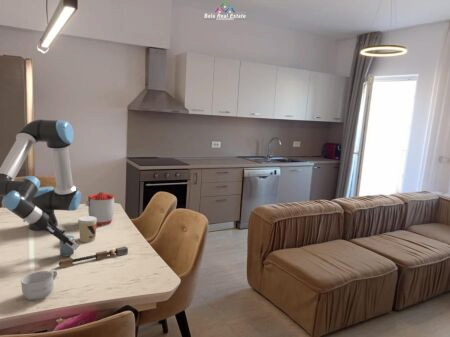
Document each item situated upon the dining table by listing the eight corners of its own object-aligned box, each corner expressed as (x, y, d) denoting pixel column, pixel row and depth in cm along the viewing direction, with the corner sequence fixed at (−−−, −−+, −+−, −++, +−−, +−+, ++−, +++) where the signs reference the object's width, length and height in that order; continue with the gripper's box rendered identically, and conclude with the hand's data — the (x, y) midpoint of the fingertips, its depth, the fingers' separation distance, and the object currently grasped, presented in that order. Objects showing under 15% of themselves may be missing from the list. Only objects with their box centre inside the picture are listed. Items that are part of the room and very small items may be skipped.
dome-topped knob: (58, 252, 167) (57, 236, 166) (72, 249, 171) (72, 234, 170) (61, 257, 162) (61, 241, 161) (75, 254, 166) (75, 238, 165)
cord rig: (58, 266, 156) (58, 259, 156) (125, 251, 176) (125, 246, 176) (60, 268, 154) (59, 262, 154) (127, 253, 174) (127, 248, 173)
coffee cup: (90, 243, 184) (90, 222, 182) (74, 241, 185) (74, 219, 183) (100, 237, 193) (100, 217, 191) (85, 235, 194) (84, 215, 192)
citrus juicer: (83, 220, 219) (83, 189, 216) (112, 217, 227) (112, 188, 224) (86, 228, 206) (86, 195, 203) (116, 225, 214) (116, 193, 210)
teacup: (31, 307, 124) (31, 286, 123) (15, 297, 130) (14, 277, 129) (67, 291, 136) (66, 272, 135) (50, 283, 142) (50, 264, 140)
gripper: (25, 218, 162) (63, 244, 175) (34, 230, 147) (74, 258, 160) (38, 205, 164) (74, 233, 177) (47, 217, 150) (86, 245, 162)
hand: (74, 245), depth 169 cm, fingers closed on dome-topped knob, 6 cm apart
